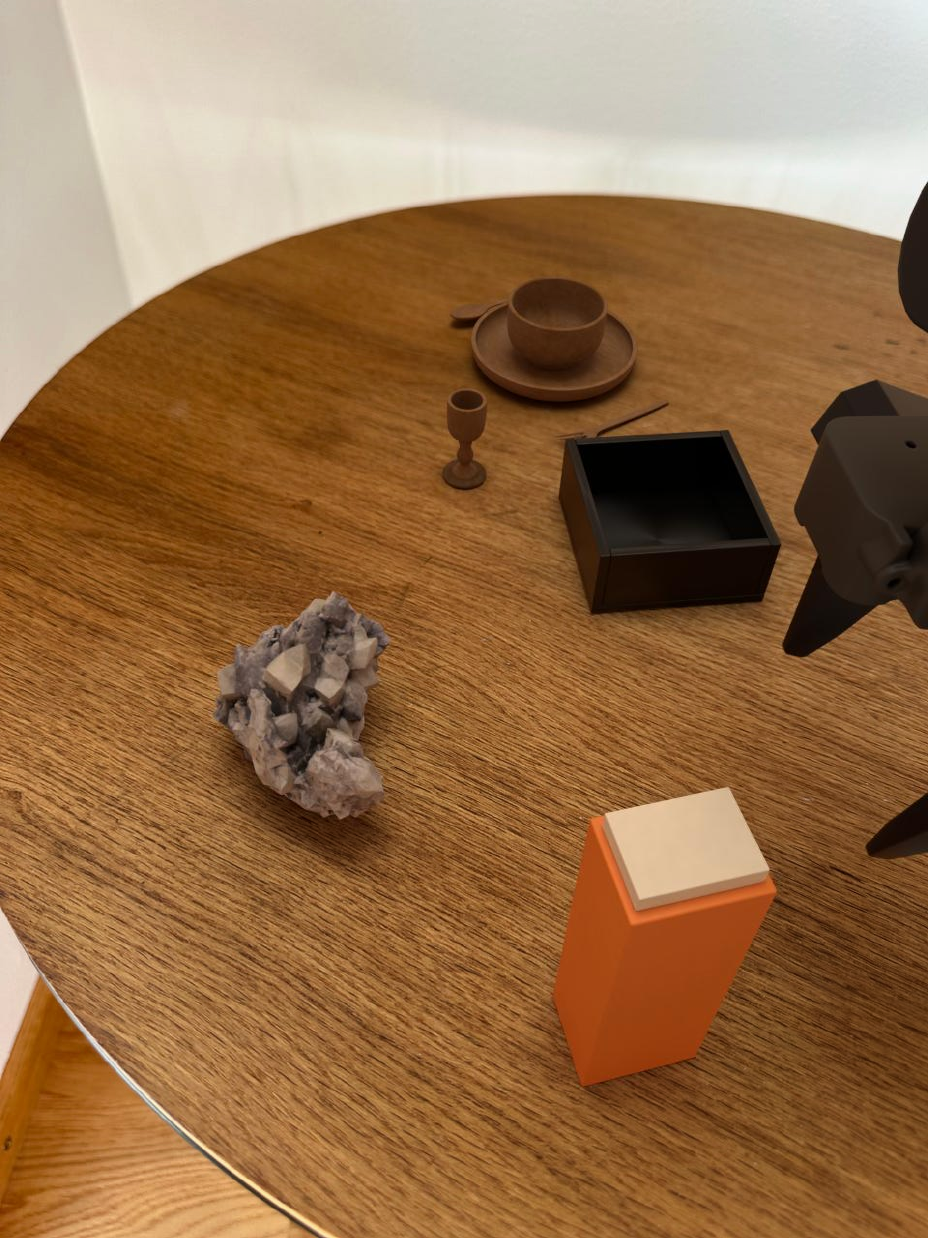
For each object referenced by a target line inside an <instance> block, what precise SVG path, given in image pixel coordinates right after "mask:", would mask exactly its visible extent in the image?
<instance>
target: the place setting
mask: <svg viewBox="0 0 928 1238" xmlns="http://www.w3.org/2000/svg"><path fill="white" fill-rule="evenodd" d="M449 315H450V317H451V318H453V319H454V320H456V321H473V320H477V319H478V320H477V321H476V322H475V324H474V326H473V328H472V331H471V335H470V345H471V346H470V347H471V348H470V349H471V352H472V356H473V359H474V361H475V363H476V365H477V366H478V368H479V369H480V370H481V372H482V373H483V374H484V375H485V376H486V377H487V378H488V379H489V380H490V381H492V382H493V383H494V384H496V385H497V386H499V387H501V388H503V389H504V390H506V391H509V392H510V393H513V394H516V395H519V396H522V397H524V398H528V399H532V400H538V401H545V402H562V403H563V402H564V403H565V402H573V401H574V402H575V401H581V400H582V401H583V400H587V399H591V398H594V397H597V396H599V395H603V394H605V393H606V392H609V391H611V390H612V389H614V388H616V387H617V386H618V385H619V384H621V383H622V382H624V380H625V379H626V378H627V377H628V375H629V374H630V373H631V372H632V370H633V368H634V366H635V363H636V359H637V355H638V348H639V347H638V345H639V344H638V341H637V337H636V335H635V333H634V331H633V329H631V327H630V326H629V325H628V324H627V323H626V322H625V321H624V320H623V319H622V318H621V317H620V316H618V315H617V314H615V313H613V312H612V311H610V310H609V304H608V300H607V298H606V296H605V295H604V294H603V293H602V292H601V291H600V290H599V289H597V288H596V287H595V286H594V285H591V284H589V283H587V282H585V281H583V280H579V279H577V278H573V277H572V278H571V277H566V276H555V275H553V276H551V275H550V276H539V277H534V278H531V279H528V280H526V281H524V282H521V283H519V285H517V286H516V287H514V288H513V289H512V291H511V292H510V293H509V296H508V297H506V298H502V299H501V298H500V299H498V300H495V301H491V302H486V303H485V302H484V303H465V304H460V305H458V306H456V307H455V308H453V309H452V310H451V312H450V314H449ZM446 399H447V400H446V424H447V430H448V432H449V434H450V436H451V437H452V438H453V439H454V440H455V441H458V445H459V448H458V449H457V452H456V459H454V460H451V461H450V462H448V463H447V464H446V465H445V466H444V467H443V469H442V477H443V480H444V481H445V482H446V483H447V484H448V485H449V486H451V487H453V488H456V489H461V490H468V489H473V488H476V487H479V486H480V485H482V484H483V483H484V481H485V480H486V478H487V470H486V468H485V466H484V465H483V464H481V463H480V462H479V461H477V460H474V457H475V455H474V451H473V449H472V445H473V442H476V441H477V440H478V439H480V437H481V436H482V435H483V433H484V430H485V428H486V424H487V423H486V422H487V414H488V413H487V412H488V398H487V396H486V394H484V393H483V392H482V391H481V390H479V389H476V388H472V387H471V388H470V387H461V388H457V389H455V390H452V391H451V392H450V393H449V394H448V395H447V398H446ZM669 403H670V401H669V400H667V399H664V400H660V401H658V402H655V403H652V404H650V405H647V406H643V407H642V408H639V409H637V410H634V411H631V412H630V413H626V414H624V415H622V416H620V417H617V418H614V419H613V420H609V421H607V422H605V423H603V424H600V425H598V426H596V427H594V428H592V429H584V430H580V431H576V432H570V433H564V434H557V435H555V436H553V438H558V439H557V441H561V442H560V444H565V440H566V439H576V438H594V437H598V434H600V433H601V432H603V431H605V430H608V429H610V428H613V427H616V426H618V425H620V424H623V423H625V422H626V423H627V422H629V421H631V420H633V419H636V418H638V417H641V416H643V415H646V414H648V413H651V412H653V411H656V410H657V409H661V408H662V407H664V406H666V405H668V404H669Z"/></svg>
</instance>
